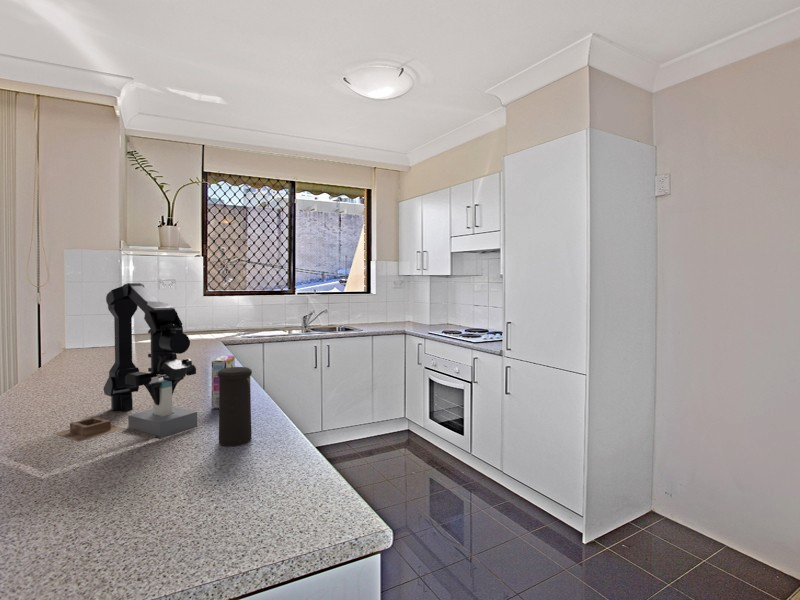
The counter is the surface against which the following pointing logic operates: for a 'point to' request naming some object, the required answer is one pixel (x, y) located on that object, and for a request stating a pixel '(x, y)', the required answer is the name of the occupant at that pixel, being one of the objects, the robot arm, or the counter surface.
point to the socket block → (163, 422)
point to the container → (234, 406)
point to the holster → (89, 429)
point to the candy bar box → (216, 367)
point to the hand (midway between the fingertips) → (162, 403)
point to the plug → (164, 399)
